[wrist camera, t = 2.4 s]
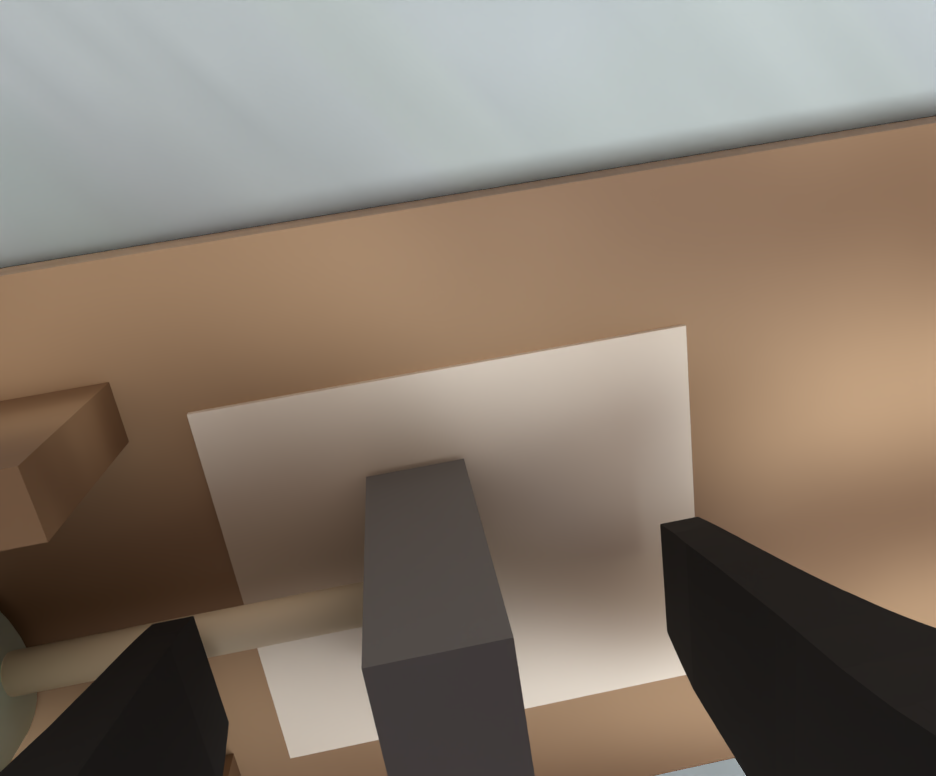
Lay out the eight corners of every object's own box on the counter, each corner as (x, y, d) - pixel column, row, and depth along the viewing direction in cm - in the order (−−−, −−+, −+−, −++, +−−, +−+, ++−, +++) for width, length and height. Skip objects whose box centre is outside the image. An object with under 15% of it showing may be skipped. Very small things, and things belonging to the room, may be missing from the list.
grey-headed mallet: (500, 678, 13) (568, 973, 9) (-218, 828, 12) (-574, 1243, 8) (459, 430, 12) (516, 629, 7) (-374, 584, 11) (-949, 926, 6)
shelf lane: (975, 657, 17) (1162, 818, 13) (-159, 902, 15) (-350, 1174, 11) (1039, 98, 13) (1342, 81, 9) (-508, 351, 11) (-1008, 472, 7)
